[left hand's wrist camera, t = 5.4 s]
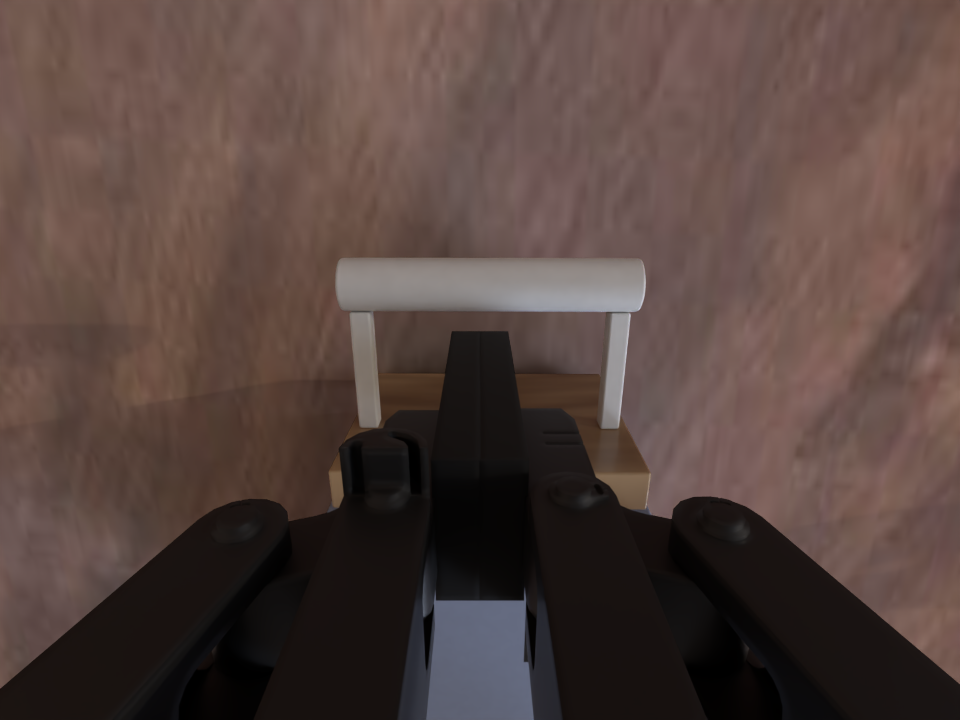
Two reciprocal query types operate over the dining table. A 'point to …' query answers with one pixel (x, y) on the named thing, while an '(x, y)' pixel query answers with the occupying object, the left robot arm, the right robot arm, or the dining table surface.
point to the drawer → (579, 395)
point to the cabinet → (480, 661)
